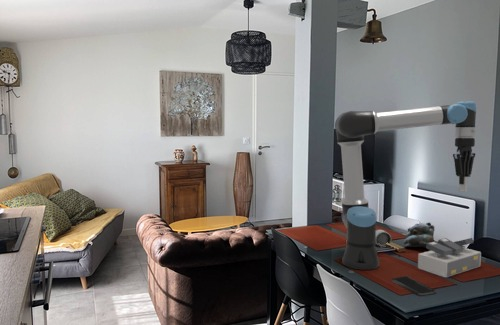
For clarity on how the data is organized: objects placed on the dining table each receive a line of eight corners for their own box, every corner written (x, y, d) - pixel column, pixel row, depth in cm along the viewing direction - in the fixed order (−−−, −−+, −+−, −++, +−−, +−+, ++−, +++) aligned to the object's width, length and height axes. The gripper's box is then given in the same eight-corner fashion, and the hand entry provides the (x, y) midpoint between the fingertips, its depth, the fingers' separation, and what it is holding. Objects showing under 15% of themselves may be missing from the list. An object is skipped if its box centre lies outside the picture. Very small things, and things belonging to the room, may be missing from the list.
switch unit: (446, 277, 149) (447, 258, 148) (417, 268, 159) (418, 250, 159) (481, 266, 161) (482, 248, 160) (452, 258, 171) (453, 241, 171)
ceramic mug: (386, 242, 195) (386, 227, 195) (391, 247, 187) (391, 232, 187) (364, 243, 196) (364, 228, 195) (369, 247, 188) (369, 232, 187)
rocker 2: (462, 252, 158) (463, 247, 157) (454, 254, 155) (456, 249, 155) (444, 242, 164) (445, 237, 164) (437, 243, 162) (438, 239, 161)
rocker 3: (473, 242, 161) (471, 237, 162) (466, 244, 158) (464, 239, 159) (456, 246, 167) (454, 241, 168) (449, 248, 165) (447, 243, 166)
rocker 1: (451, 254, 154) (452, 249, 153) (444, 256, 151) (445, 251, 151) (433, 246, 160) (434, 241, 160) (425, 247, 158) (426, 243, 157)
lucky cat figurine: (397, 246, 189) (399, 219, 194) (413, 253, 194) (414, 226, 199) (425, 245, 176) (426, 215, 181) (441, 251, 181) (442, 223, 187)
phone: (419, 294, 132) (390, 278, 146) (419, 297, 132) (390, 281, 146) (437, 291, 135) (407, 275, 149) (437, 294, 135) (407, 278, 149)
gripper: (464, 137, 162) (462, 193, 164) (482, 137, 168) (480, 191, 170) (447, 137, 169) (445, 191, 170) (465, 137, 175) (463, 189, 177)
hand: (462, 191), depth 170 cm, fingers closed
